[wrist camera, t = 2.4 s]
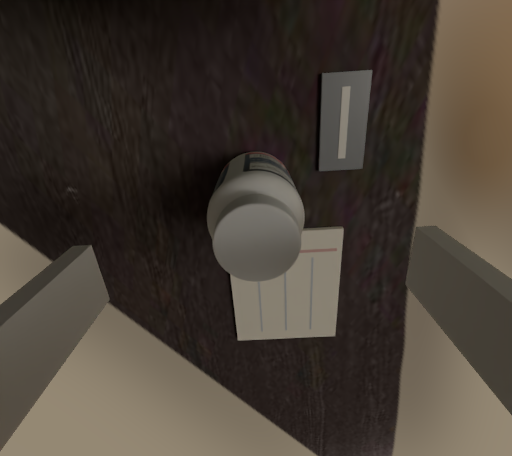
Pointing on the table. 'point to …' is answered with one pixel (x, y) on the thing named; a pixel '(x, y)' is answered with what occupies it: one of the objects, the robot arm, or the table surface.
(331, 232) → the paper
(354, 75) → the grey striped flat block
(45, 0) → the table surface
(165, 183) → the table surface
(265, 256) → the pill bottle
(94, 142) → the table surface
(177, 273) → the table surface
